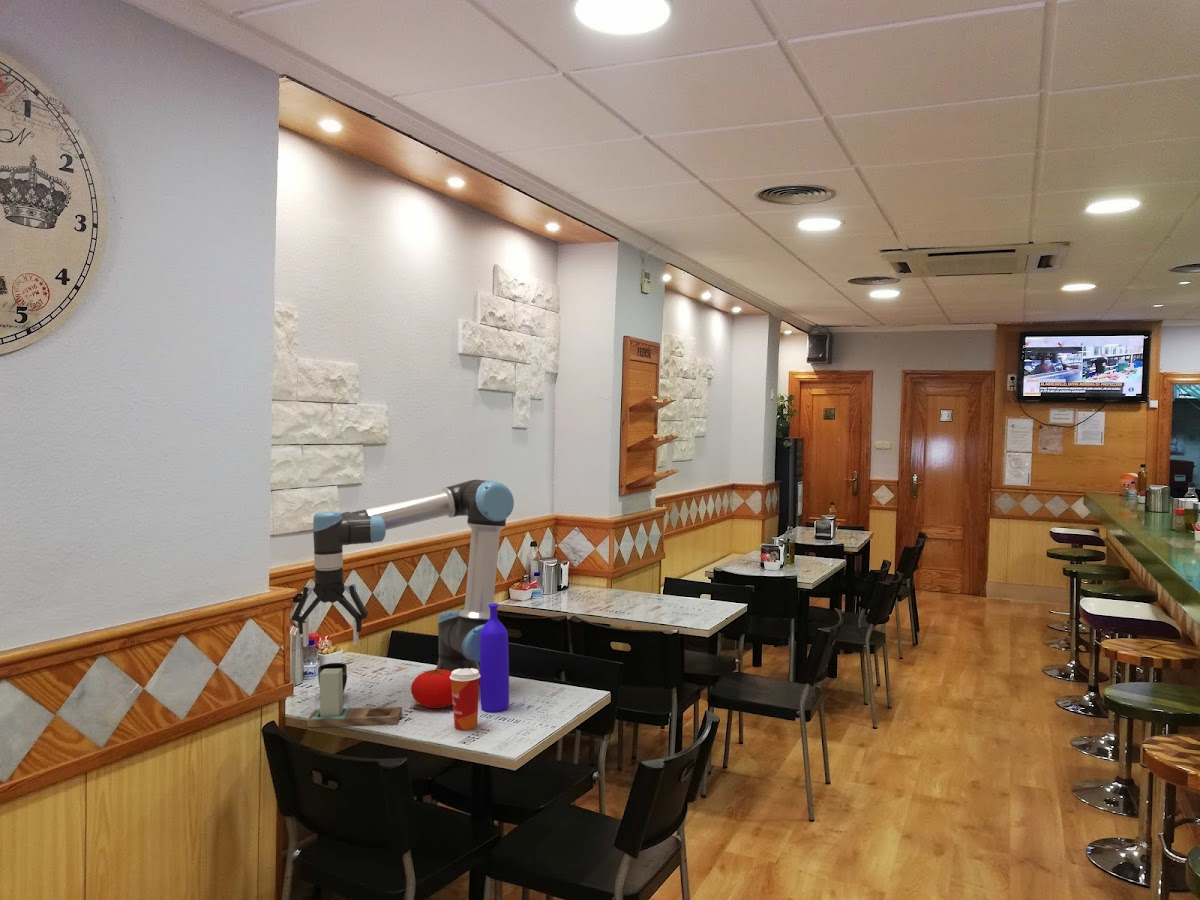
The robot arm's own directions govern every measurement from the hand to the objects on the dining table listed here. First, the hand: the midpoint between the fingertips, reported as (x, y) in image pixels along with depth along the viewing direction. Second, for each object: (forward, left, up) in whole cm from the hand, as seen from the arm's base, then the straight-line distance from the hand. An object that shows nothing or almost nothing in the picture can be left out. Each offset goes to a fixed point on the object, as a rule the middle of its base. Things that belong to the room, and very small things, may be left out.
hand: (331, 644), depth 244 cm
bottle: (-44, -7, -21) cm, 50 cm away
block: (0, 0, -21) cm, 21 cm away
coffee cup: (-37, +8, -21) cm, 44 cm away
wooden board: (-6, 0, -21) cm, 22 cm away
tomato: (-27, -11, -22) cm, 36 cm away
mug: (+4, -20, -21) cm, 29 cm away
